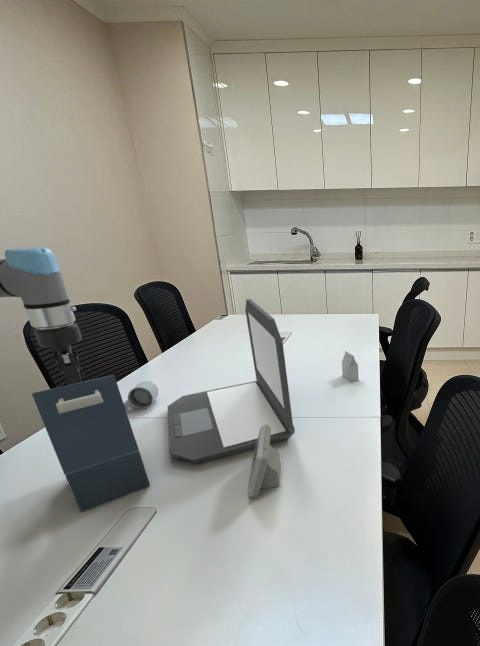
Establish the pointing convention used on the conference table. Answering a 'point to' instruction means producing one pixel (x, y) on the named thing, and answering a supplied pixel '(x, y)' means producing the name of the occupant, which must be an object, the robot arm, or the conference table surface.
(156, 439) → the conference table surface
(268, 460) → the digital clock
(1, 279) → the robot arm
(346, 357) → the grey house-shaped block
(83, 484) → the dark blue box
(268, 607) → the conference table surface
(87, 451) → the lid
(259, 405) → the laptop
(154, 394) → the ceramic mug
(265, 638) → the conference table surface
